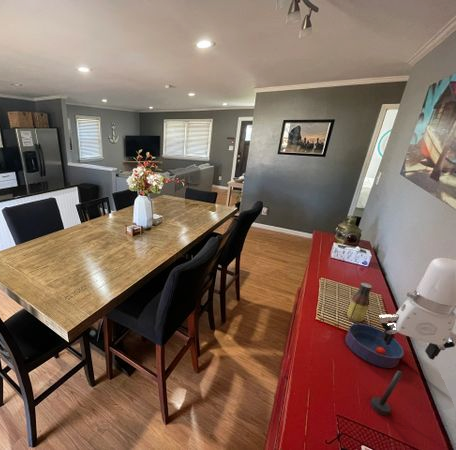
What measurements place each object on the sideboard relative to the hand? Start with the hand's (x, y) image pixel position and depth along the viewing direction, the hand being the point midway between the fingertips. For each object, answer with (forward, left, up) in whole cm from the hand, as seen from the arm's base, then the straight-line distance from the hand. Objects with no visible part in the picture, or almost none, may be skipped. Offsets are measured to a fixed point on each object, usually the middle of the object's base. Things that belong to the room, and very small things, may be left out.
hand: (406, 348), depth 71 cm
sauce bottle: (+34, -30, -25) cm, 51 cm away
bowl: (+18, -20, -25) cm, 36 cm away
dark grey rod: (-1, 0, -25) cm, 25 cm away
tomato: (+15, -21, -23) cm, 35 cm away
